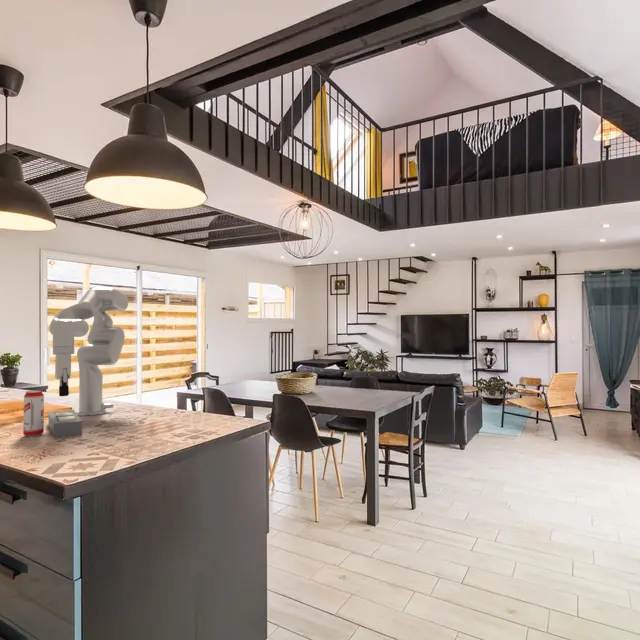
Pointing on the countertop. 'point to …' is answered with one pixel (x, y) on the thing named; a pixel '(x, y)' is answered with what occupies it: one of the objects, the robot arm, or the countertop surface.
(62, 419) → the cream key
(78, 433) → the keypad
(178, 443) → the countertop surface
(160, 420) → the countertop surface
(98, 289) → the robot arm
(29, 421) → the beer can
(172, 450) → the countertop surface
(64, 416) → the sage key
